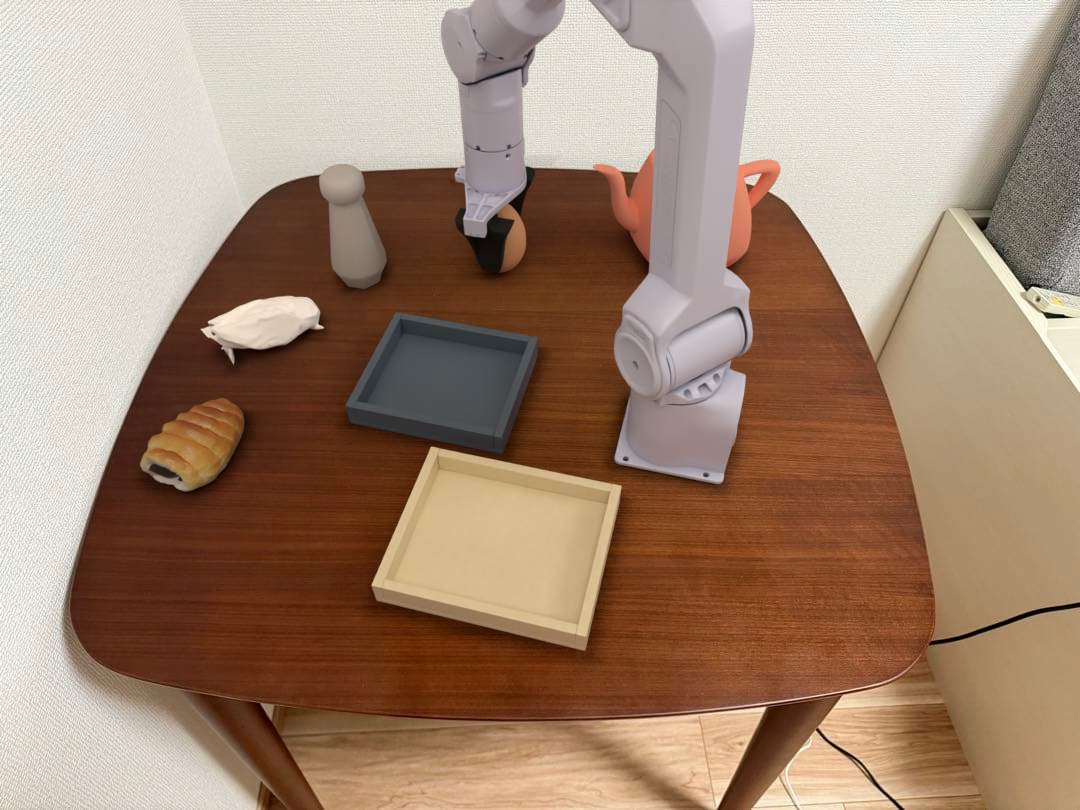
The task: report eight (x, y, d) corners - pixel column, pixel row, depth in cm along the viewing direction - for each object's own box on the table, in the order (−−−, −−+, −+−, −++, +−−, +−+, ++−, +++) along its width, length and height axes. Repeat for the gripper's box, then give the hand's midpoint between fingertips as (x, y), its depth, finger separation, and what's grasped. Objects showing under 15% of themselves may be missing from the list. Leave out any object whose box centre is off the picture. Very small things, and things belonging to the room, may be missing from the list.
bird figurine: (250, 387, 80) (333, 325, 82) (208, 340, 75) (297, 275, 77) (234, 364, 83) (313, 305, 85) (192, 318, 78) (278, 256, 80)
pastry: (206, 402, 77) (193, 374, 74) (267, 423, 75) (256, 396, 72) (139, 478, 71) (122, 451, 68) (203, 503, 70) (188, 477, 67)
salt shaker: (379, 298, 86) (357, 193, 76) (327, 291, 87) (299, 186, 77) (396, 262, 90) (377, 158, 80) (347, 256, 90) (322, 152, 80)
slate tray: (538, 355, 80) (538, 337, 79) (502, 454, 73) (501, 437, 71) (398, 329, 83) (395, 311, 81) (349, 423, 75) (344, 405, 73)
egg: (522, 248, 91) (521, 184, 85) (530, 282, 87) (529, 218, 81) (471, 253, 91) (465, 190, 84) (476, 288, 87) (471, 224, 80)
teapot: (576, 221, 94) (579, 125, 85) (743, 202, 96) (764, 107, 87) (601, 299, 86) (608, 202, 76) (784, 276, 88) (812, 179, 78)
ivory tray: (619, 502, 69) (621, 485, 67) (585, 651, 61) (586, 636, 59) (434, 463, 72) (431, 446, 70) (376, 600, 64) (371, 585, 62)
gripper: (475, 91, 82) (483, 204, 92) (426, 173, 73) (441, 288, 83) (543, 100, 81) (544, 213, 91) (502, 184, 72) (508, 299, 82)
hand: (499, 250), depth 87 cm, fingers closed on egg, 6 cm apart
